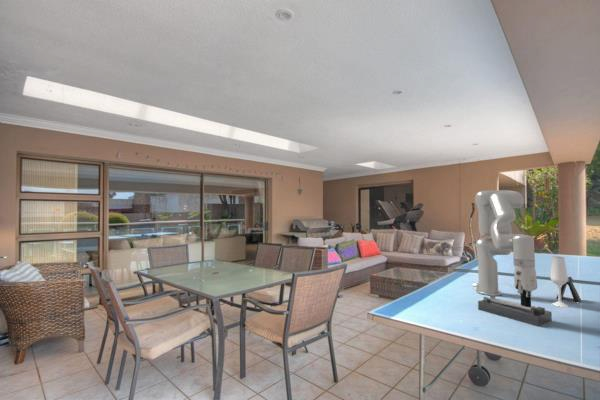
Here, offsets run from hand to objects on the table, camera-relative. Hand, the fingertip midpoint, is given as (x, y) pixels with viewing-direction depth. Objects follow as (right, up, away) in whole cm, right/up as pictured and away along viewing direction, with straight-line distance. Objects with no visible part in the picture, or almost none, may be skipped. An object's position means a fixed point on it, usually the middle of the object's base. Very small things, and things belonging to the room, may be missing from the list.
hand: (526, 305), depth 127 cm
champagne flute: (+32, -7, +19) cm, 38 cm away
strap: (-3, -1, +6) cm, 7 cm away
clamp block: (-2, -6, +5) cm, 8 cm away
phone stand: (+45, -7, +29) cm, 54 cm away
